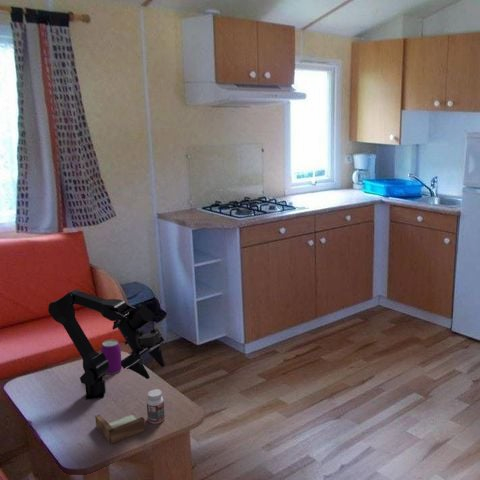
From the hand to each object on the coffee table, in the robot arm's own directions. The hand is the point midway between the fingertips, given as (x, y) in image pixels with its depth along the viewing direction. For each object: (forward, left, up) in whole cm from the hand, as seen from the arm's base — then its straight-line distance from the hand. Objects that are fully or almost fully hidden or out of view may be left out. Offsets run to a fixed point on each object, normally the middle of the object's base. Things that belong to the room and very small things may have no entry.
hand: (156, 372), depth 179 cm
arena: (-12, -9, -14) cm, 21 cm away
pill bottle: (-1, -6, -15) cm, 16 cm away
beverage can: (-18, +33, -14) cm, 40 cm away
